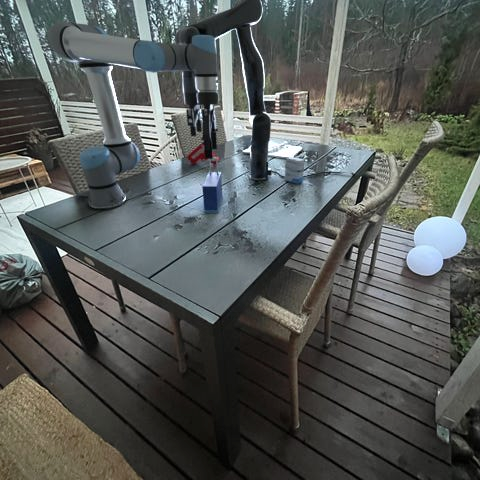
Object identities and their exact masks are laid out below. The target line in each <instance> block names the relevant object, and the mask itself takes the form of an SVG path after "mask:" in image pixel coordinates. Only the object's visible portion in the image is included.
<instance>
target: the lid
mask: <svg viewBox="0 0 480 480" xmlns="http://www.w3.org/2000/svg"><path fill="white" fill-rule="evenodd" d="M218 157H219V156H218ZM218 157H213V159H207V161H208V170H209V172H208V173H207V176H206V178H205V180H204V182H203V184H202V186H201V187H202V190H203V189H217V186H218V183H219V180H220V177H221V178H222V172H221V171H219V164H218ZM211 161H216V165H215V167H216V169H215V170H216V172H215V171H214V172H213V171H212V163H211Z"/></svg>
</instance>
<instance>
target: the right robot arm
mask: <svg viewBox="0 0 480 480" xmlns="http://www.w3.org/2000/svg"><path fill="white" fill-rule="evenodd" d="M263 12H264V8H263V3H262V1H261V0H236V1H235V2H234V4H233V7H231V8H229V9H225V10H223V11H221V12H217V13H215V14H212V15H209V16H207V17H205V18H203V19H201V20H200V21H198V22H196V23H195V22H194V23H192V24H189V25H186V26H183V27H180V28H179V29H178V30H177V31H176V33H175V36H174V42H175V43H174V44H191V43H192V37H193V36H195V35H211V36H213V37H214V38H215V40H217V39H219V38H221V37H222V36H225V35H226V34H228V33H229V32H231V31H233V30H235V31H236V35H237V40H238V46H239V51H240V58H241V63H242V64H241V65H242V74H243V79H244V85H245V90H246V95H247V99H248V109H249V124H250V126H251V139H250V146H251V148H250V154H249V157H250V158H249V160H250V161H249V165H250V166H249V178H250V180H253V181H256V182H257V181H265V180H268V179H269V176H272V174H276V175H278V176H279V177H280V178H284V179H285V175H282V174H281V173H279V172H277V171H274V170H272V168H271V167H269V156H268V145H269V140H270V139H271V129H272V119H271V116H270V115H269V114H268V113H267V111H266V107H265V100H264V94H265V93H264V92H265V68H264V60H263V58H262V56H261V54H260V52H259V50H258V48H257V47H256V44H255V42H254V39H253V34H252V27H251V26H253V25H256V24H257V23H258V22H259V21H260V20H261V18H262V16H263ZM181 74H182V75H181V77H182V93H183V101H184V105H186V106H188V108H186V110H185V111H186V122H187V126H188V127H189V128H190V130H189V131H190V137H196V136H197V133H203V121H202V109H203V105H200V104H198V103H197V92H198V90H196V82H195V71H181ZM341 172H342V171H319V173H318V172H314V173H315V174H314V173H310V174H311V175H309V174H306V175H307V176H305V175H303V179H304V178H308V177H311V176H315V175H321V174H335V175H336V174H338V175H339V174H340V175H341V174H342V173H341ZM350 174H351V175H352V176H355V173H354V172H353V173H350Z"/></svg>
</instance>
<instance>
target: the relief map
mask: <svg viewBox="0 0 480 480" xmlns="http://www.w3.org/2000/svg"><path fill="white" fill-rule="evenodd" d="M302 147H303V146H294V145H292V144H290V143H289V142H288V141H284V142H282V143H280V144H279V143H278V142H276V141H273V140H272V139H271V138H270V140H269V145H268V157H271V158H277V159H285V160H286V159H287V158H289V157H296V156H297V155H298V154H299V153H300V152H302V151H303V150H304V148H303V149H302ZM250 148H251V145H250V146H249V147H248V148H247V149H245V150H242V153H243V154H247V155H248V154H249V155H250ZM296 153H297V154H296Z"/></svg>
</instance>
